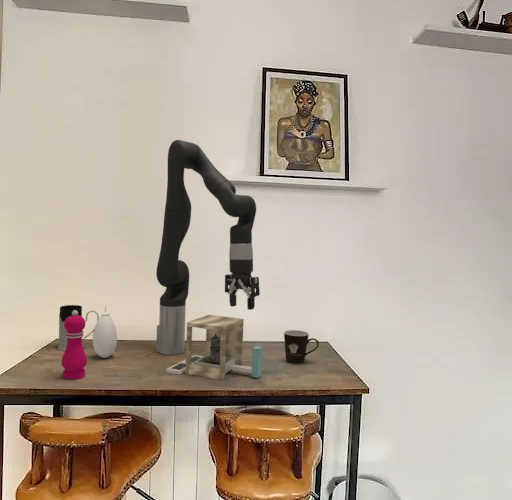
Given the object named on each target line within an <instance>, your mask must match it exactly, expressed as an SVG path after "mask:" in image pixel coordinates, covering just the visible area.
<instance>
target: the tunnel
mask: <svg viewBox="0 0 512 500" xmlns="http://www.w3.org/2000/svg"><path fill="white" fill-rule="evenodd" d="M244 322H245V320H244V318H239V317H238V318H237V317H231V316H230V317H229V316H223V315H213V314H207V315H204V316H202V317H201V316H200V317H198V318H195V319H193V320H190V321H187V322H186V344H185V345H186V346H185V347H186V349H185V360H186V372H185V374H187V375H192V376H197V377H203V378H209V379H215V380H220V381H224V380H225V379H226V374H225V357H230V358H235V365H241V366H243V346H244V345H243V344H244V343H243V342H244ZM193 328H195V329H196V328H197V329H206V333H205V334H206V335H205V356H206V355H208V354H210V350H211V349H210V347H211V338H212V337H214V336H215V334H216V336H217V337H219V338H220V368H214V367H208V366H202V365H196V364H191V357H192V347H193V345H192V344H193V343H192V340H193V339H192V338H193Z"/></svg>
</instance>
